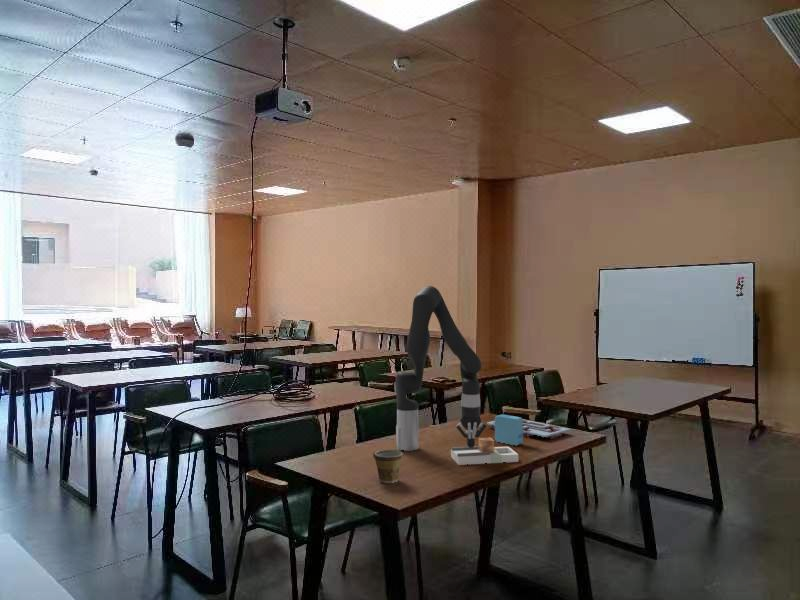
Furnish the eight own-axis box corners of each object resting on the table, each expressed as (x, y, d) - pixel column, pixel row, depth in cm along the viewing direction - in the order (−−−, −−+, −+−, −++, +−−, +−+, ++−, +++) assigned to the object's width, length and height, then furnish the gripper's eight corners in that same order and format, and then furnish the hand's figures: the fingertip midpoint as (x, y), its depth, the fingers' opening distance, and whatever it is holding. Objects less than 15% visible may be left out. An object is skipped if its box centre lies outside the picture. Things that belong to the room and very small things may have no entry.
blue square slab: (523, 444, 258) (523, 417, 258) (517, 446, 255) (517, 419, 255) (499, 440, 266) (499, 413, 266) (494, 441, 263) (494, 415, 263)
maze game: (486, 428, 289) (486, 422, 289) (511, 423, 302) (511, 417, 302) (545, 442, 262) (545, 435, 262) (570, 435, 275) (570, 428, 275)
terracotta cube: (482, 453, 233) (482, 441, 233) (478, 450, 238) (478, 438, 238) (494, 453, 234) (494, 440, 234) (490, 449, 239) (490, 437, 239)
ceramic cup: (408, 480, 209) (408, 453, 209) (387, 487, 202) (387, 458, 202) (383, 473, 219) (383, 446, 218) (363, 479, 212) (363, 451, 211)
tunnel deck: (458, 464, 228) (458, 454, 228) (451, 456, 240) (451, 446, 240) (518, 461, 232) (518, 451, 232) (508, 453, 244) (508, 444, 244)
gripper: (457, 407, 230) (457, 450, 231) (489, 405, 233) (489, 449, 233) (452, 403, 238) (452, 445, 238) (483, 402, 240) (483, 444, 240)
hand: (470, 447), depth 235 cm, fingers closed
